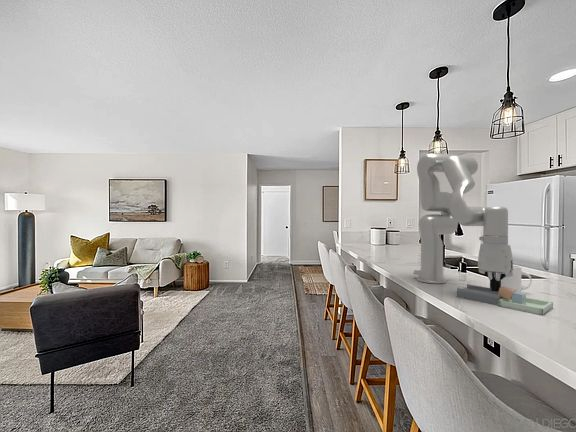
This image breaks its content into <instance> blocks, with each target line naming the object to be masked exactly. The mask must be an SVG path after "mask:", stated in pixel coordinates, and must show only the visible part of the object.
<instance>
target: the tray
mask: <svg viewBox="0 0 576 432" xmlns="http://www.w3.org/2000/svg"><path fill="white" fill-rule="evenodd" d="M497 307H500V308H506V309H509V310H516V311H520V312H525V313H528V314H529V313H530V314H534V315H540V316H544V315H546V314H547V313H548V312H549V311H551V310H553V309H554V302H553V301H549V300H548V301H547V300H541V299H536V298H531V297H526V305H522V304H517V303H512V300H510V299H507V298H502V299H500V300H498V305H497Z"/></svg>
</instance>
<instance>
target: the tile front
mask: <svg viewBox="0 0 576 432" xmlns="http://www.w3.org/2000/svg"><path fill="white" fill-rule="evenodd" d="M526 298H527V292H524V291H523V292H522V291H521V292H518V291H515V292H513V293H512V303H517V304H522V305H526Z"/></svg>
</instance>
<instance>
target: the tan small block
mask: <svg viewBox="0 0 576 432" xmlns="http://www.w3.org/2000/svg"><path fill="white" fill-rule="evenodd" d="M515 291H516V290H515V289H511V288H508V287H505V286H503V287H500V288H499V292H498V295H499V296H500V297H503V298H507V299H510V300H512V293H513V292H515Z"/></svg>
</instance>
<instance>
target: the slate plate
mask: <svg viewBox="0 0 576 432" xmlns="http://www.w3.org/2000/svg"><path fill="white" fill-rule="evenodd" d="M498 292H499V291H497V292H495V291H491V288H490V287H487V286H481V285H475V284H474V285H473V284H469V283H467V284H466V287H463V288H462V287H456V298H459V299H460V298H461V299H465V300H471V301H476V302H479V301H480V303H484V302H485V304H489V305H495V306H498V300H500V299H502V298H503V297H500V296H499V295H498Z"/></svg>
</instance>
